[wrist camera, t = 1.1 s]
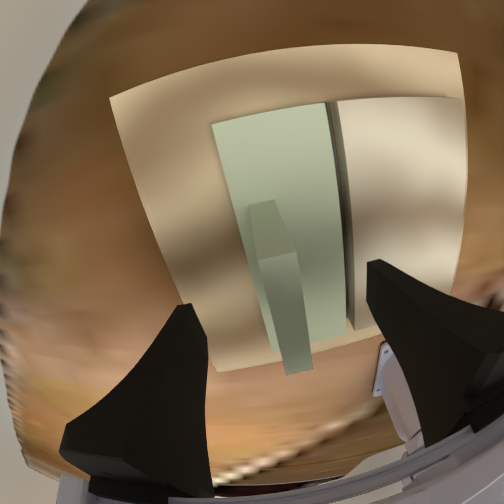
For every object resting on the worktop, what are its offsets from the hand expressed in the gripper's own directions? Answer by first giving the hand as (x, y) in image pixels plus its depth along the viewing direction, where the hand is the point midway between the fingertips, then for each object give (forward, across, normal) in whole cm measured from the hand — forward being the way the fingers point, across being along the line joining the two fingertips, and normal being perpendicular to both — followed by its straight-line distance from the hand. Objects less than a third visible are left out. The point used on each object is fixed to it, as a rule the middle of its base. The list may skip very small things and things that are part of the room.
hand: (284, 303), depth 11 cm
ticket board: (+7, -4, 0) cm, 8 cm away
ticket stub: (+5, -1, 0) cm, 5 cm away
